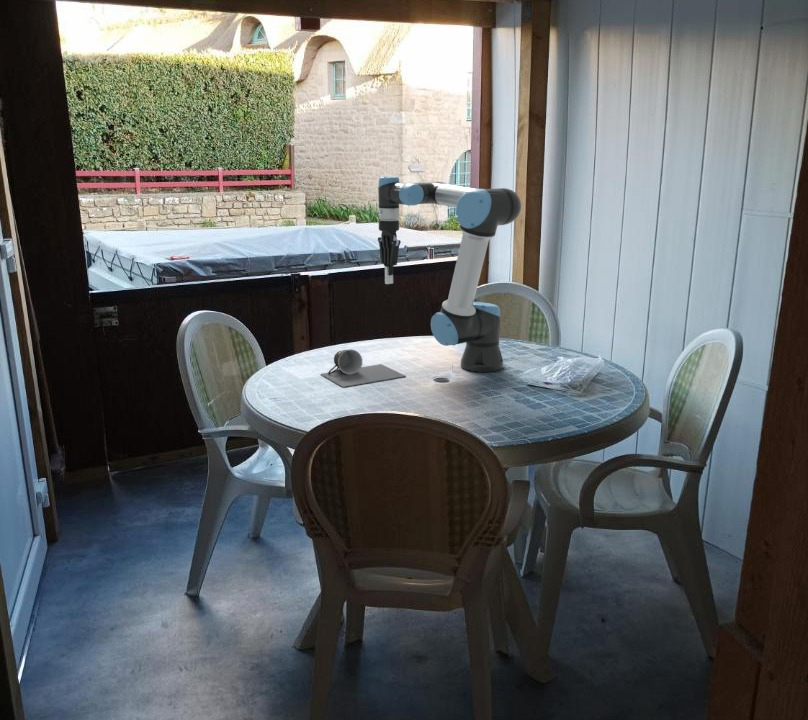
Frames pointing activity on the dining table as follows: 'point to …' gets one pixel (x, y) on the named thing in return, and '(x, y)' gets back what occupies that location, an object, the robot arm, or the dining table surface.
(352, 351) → the coffee mug
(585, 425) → the dining table surface
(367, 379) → the mat
